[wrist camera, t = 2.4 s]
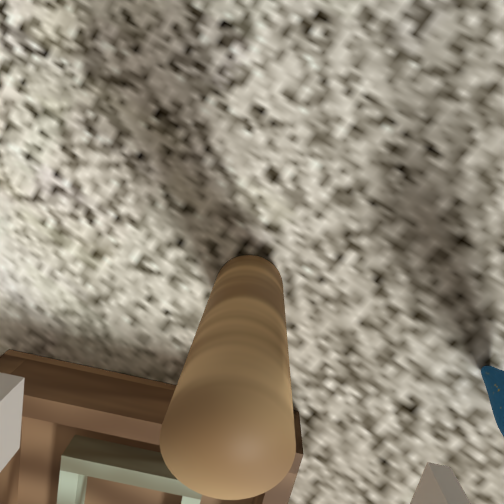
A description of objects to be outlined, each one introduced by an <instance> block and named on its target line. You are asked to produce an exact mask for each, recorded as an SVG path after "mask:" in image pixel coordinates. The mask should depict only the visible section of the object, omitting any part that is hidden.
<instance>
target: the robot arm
mask: <svg viewBox="0 0 504 504" xmlns="http://www.w3.org/2000/svg"><path fill="white" fill-rule="evenodd" d="M23 393H24V377H20V376H15V375H10V374H5V373H1V372H0V472H1V471H2V470H3V468H4V467H5V466H6V465H7V463H8V462H9V461H10V459H11V458H12V457H13V456H14V454H15V453H16V452H17V451H18V449H19V448H20V435H21V421H22V407H23ZM410 504H471V503H470V501H469V499H468V498H467V496H466V494H465V492H464V490H463V489H462V487H461V485H460V483H459V481H458V480H457V478H456V476H455V474H454V473H453V471H452V469H451V467H448V466H443V465H439V464H434V463H429V462H427V465H426V467H425V469H424V472H423V474H422V477H421V479H420V481H419V484H418V486H417V488H416V491H415V493H414V496H413V498H412V500H411V503H410Z"/></svg>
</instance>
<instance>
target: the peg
mask: <svg viewBox="0 0 504 504" xmlns="http://www.w3.org/2000/svg"><path fill="white" fill-rule="evenodd" d="M159 441H160V450H161V454H162V457H163V460H164V462H165V464H166V465H167V467H168V469H169V470H170V471H171V473H172V474H173V475H174V476H175V477H176V478H177V479H178V480H179V481H180V482H181V483H182V484H184V485H185V486H187V487H188V488H190V489H191V490H193V491H195V492H197V493H200V494H202V495H205V496H208V497H212V498H216V499H223V500H240V499H247V498H251V497H255V496H258V495H260V494H263V493H265V492H267V491H268V490H270V489H272V488H273V487H275V486H276V485H277V484H278V483H279V482H281V481H282V480H283V478H284V477H285V476H286V475H287V473H288V472H289V470H290V468H291V466H292V464H293V461H294V458H295V453H296V440H295V428H294V415H293V403H292V391H291V379H290V367H289V355H288V343H287V331H286V318H285V306H284V294H283V283H282V278H281V276H280V273H279V272H278V270H277V269H276V267H275V266H274V265H273V264H272V263H271V262H269V261H268V260H266V259H264V258H262V257H259V256H255V255H242V256H238V257H235V258H233V259H231V260H230V261H228V262H227V263H226V264H225V265H224V266H223V267H222V268H221V270H220V271H219V273H218V275H217V278H216V281H215V283H214V286H213V289H212V292H211V294H210V297H209V300H208V302H207V305H206V308H205V310H204V313H203V316H202V318H201V321H200V324H199V327H198V329H197V332H196V335H195V337H194V340H193V343H192V345H191V348H190V351H189V353H188V356H187V359H186V362H185V364H184V367H183V370H182V372H181V375H180V378H179V380H178V383H177V386H176V388H175V391H174V394H173V397H172V399H171V402H170V405H169V407H168V410H167V413H166V415H165V418H164V421H163V423H162V427H161V430H160V438H159Z"/></svg>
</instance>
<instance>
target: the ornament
mask: <svg viewBox="0 0 504 504" xmlns="http://www.w3.org/2000/svg"><path fill="white" fill-rule="evenodd" d="M481 374H482V377H483V380H484V383H485V385H486V389H487V392H488V395H489V399H490V403H491V406H492V410H493V414H494V417H495V420H496V423H497V425H498V428H499V429H500V431H501V433H502V434H503V436H504V371H502V370H499V369H497V368H494V367H492V366H484V367H483V368H482V369H481Z"/></svg>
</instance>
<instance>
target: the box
mask: <svg viewBox="0 0 504 504" xmlns="http://www.w3.org/2000/svg"><path fill="white" fill-rule="evenodd" d="M0 372H1V373H5V374H10V375H15V376H20V377H24V393H23V407H22V421H21V435H20V448H19V449H18V451H17V452H16V453H15V454H14V456H13V457H12V458H11V459H10V461H9V462H8V463H7V465H6V466H5V467H4V468H3V470H2V471H1V472H0V504H288V501H289V498H290V495H291V492H292V489H293V485H294V482H295V479H296V476H297V473H298V470H299V466H300V463H301V460H302V457H303V447H302V437H301V427H300V417H299V412H298V411H293V415H294V428H295V440H296V453H295V458H294V461H293V464H292V466H291V468H290V470H289V472H288V473H287V475H286V476H285V477H284V478H283V480H282V481H281V482H279V483H278V484H277V485H276V486H275V487H273V488H272V489H270V490H268V491H267V492H265V493H263V494H260V495H258V496H255V497H251V498H247V499H240V500H223V499H216V498H212V497H208V496H205V495H202V494H200V493H197V492H195V491H193V490H191V489H190V488H188V487H187V486H185V485H184V484H182V483H181V482H180V481H179V480H178V479H177V478H176V477H175V476H174V475H173V474H172V473H171V471H170V470H169V469H168V467H167V465H166V464H165V462H164V460H163V457H162V454H161V450H160V441H159V438H160V430H161V427H162V423H163V421H164V418H165V415H166V413H167V410H168V407H169V405H170V402H171V399H172V397H173V394H174V391H175V388H176V386H177V385H172V384H168V383H163V382H158V381H154V380H149V379H144V378H140V377H135V376H130V375H126V374H121V373H117V372H112V371H107V370H103V369H98V368H93V367H89V366H84V365H79V364H75V363H70V362H65V361H61V360H56V359H51V358H47V357H42V356H38V355H33V354H28V353H24V352H19V351H14V350H10V349H9V350H8V351H7V352H5V353H4V354H3V355H2V356H1V357H0Z"/></svg>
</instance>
